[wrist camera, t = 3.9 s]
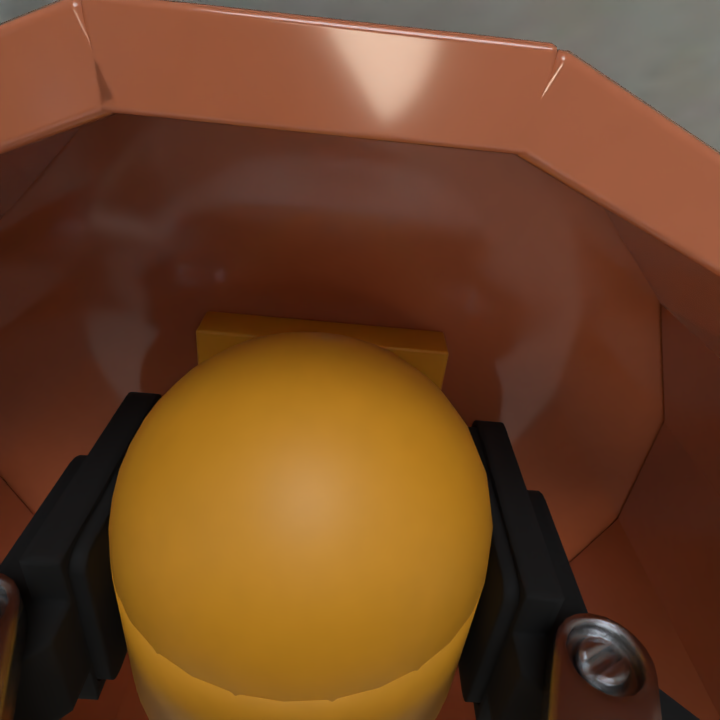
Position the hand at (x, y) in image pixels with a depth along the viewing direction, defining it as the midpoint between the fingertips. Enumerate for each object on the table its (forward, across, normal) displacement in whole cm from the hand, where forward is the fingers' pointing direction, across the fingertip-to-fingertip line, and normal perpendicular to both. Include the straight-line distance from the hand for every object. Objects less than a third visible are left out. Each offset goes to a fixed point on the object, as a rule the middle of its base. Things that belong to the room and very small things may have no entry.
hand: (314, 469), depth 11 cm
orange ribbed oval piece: (+1, 0, 0) cm, 1 cm away
